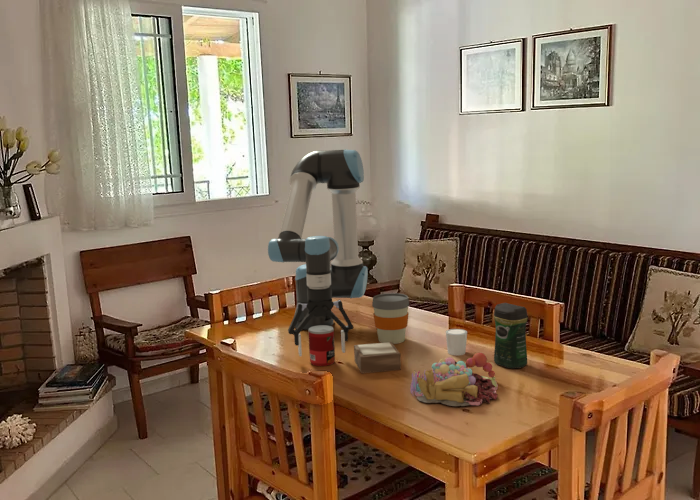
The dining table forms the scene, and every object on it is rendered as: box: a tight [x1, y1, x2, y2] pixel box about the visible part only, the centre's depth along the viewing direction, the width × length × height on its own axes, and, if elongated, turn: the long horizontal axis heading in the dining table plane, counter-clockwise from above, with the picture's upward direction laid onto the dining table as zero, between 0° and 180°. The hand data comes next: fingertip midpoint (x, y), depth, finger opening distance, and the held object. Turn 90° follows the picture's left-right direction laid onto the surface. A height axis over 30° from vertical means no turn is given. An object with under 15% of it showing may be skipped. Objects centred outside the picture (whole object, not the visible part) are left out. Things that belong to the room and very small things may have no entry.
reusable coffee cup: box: [371, 292, 410, 345], centre depth 234 cm, size 13×13×15 cm
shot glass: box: [445, 328, 468, 356], centre depth 219 cm, size 7×7×7 cm
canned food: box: [307, 325, 336, 367], centre depth 214 cm, size 8×8×11 cm
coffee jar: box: [493, 302, 528, 369], centre depth 205 cm, size 10×8×19 cm
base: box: [353, 342, 402, 374], centre depth 210 cm, size 12×12×5 cm
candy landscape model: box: [410, 352, 499, 407], centre depth 187 cm, size 25×24×9 cm
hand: (321, 353), depth 214 cm, fingers open, 13 cm apart
